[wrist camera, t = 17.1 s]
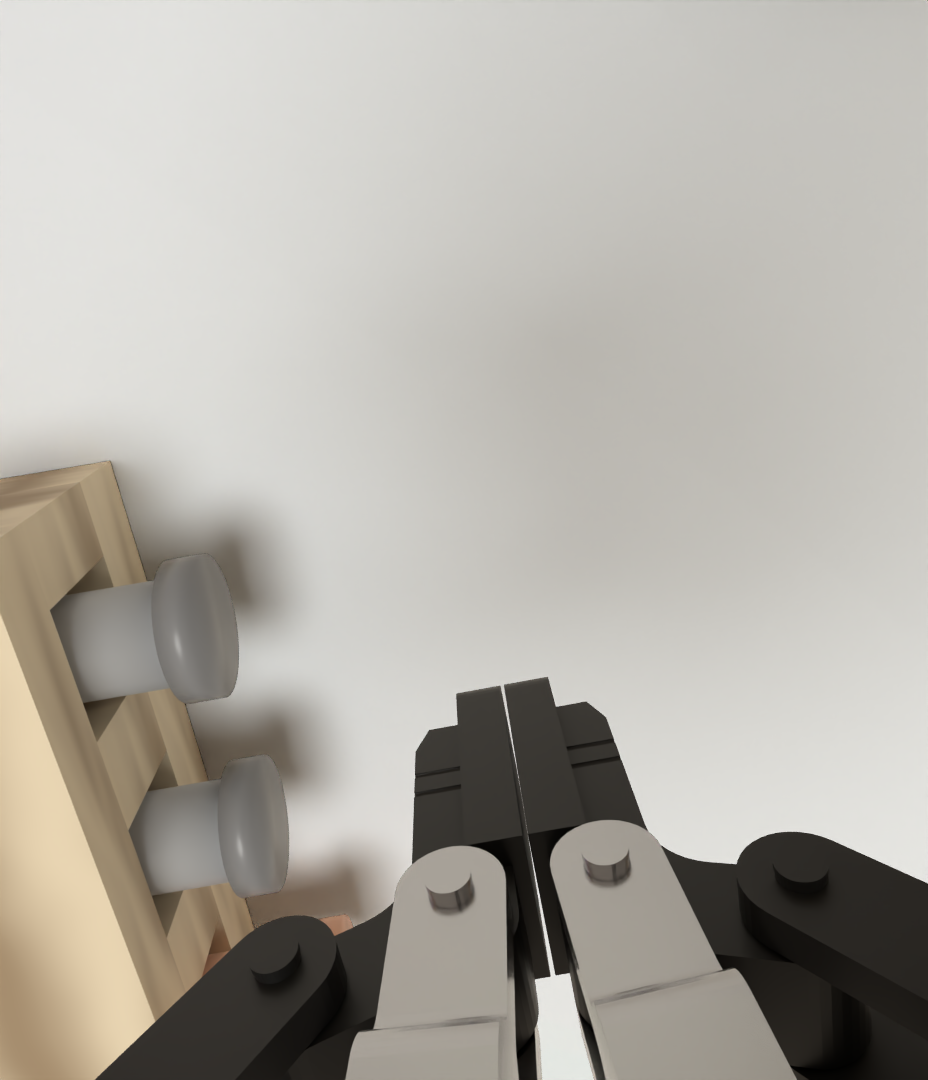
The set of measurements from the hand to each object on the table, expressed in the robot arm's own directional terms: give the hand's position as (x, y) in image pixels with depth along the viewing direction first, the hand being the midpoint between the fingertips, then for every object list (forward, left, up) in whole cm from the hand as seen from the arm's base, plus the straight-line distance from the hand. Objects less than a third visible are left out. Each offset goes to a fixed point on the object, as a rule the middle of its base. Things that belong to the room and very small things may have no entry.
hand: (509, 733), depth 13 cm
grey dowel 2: (+14, +11, -16) cm, 24 cm away
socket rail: (+16, +11, -19) cm, 27 cm away
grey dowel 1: (+14, +3, -16) cm, 22 cm away
